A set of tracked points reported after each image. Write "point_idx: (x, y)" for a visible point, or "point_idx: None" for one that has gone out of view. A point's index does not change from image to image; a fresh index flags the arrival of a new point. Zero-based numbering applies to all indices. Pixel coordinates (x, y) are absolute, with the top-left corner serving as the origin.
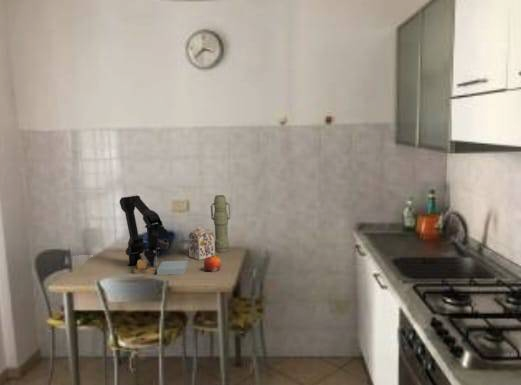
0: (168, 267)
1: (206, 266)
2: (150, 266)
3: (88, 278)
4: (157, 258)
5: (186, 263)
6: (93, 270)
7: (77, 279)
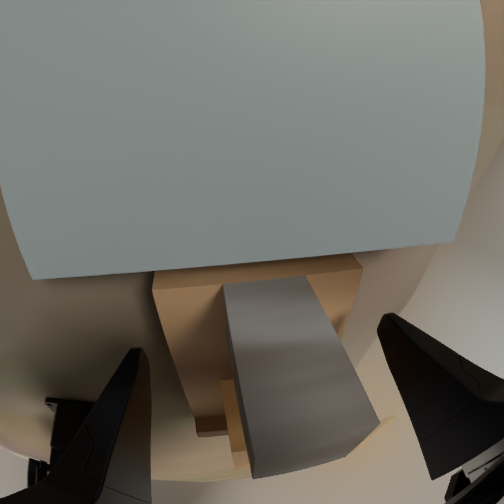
0: (433, 91)
1: None
2: (226, 354)
3: None
4: (122, 388)
5: None
6: (221, 468)
7: None
